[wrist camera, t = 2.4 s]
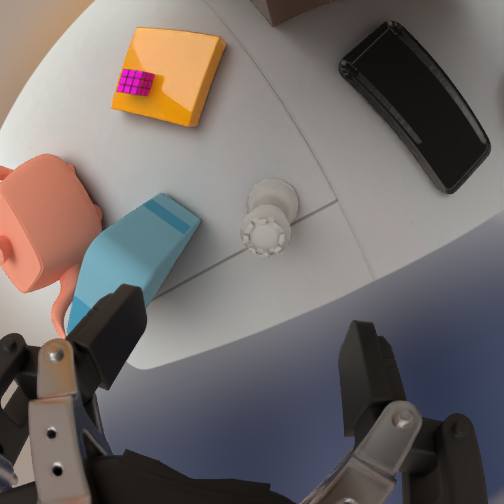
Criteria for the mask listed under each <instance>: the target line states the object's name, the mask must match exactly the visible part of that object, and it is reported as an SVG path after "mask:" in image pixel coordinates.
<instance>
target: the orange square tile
mask: <svg viewBox="0 0 504 504" xmlns="http://www.w3.org/2000/svg"><path fill="white" fill-rule="evenodd" d="M225 47H226V43H225V42H224V40H223V39H222V38H221V37H219V36H214V35H208V34H202V33H196V32H188V31H180V30H171V29H160V28H145V27H137V28H136V31H135V33H134V36H133V39H132V41H131V44H130V47H129V49H128V52H127V55H126V58H125V61H124V64H123V67H122V70H121V74H120V77H119V80H118V84H117V87H116V91H115V94H114V98H113V102H112V106H111V109H115V110H120V111H125V112H130V113H135V114H139V115H143V116H148V117H152V118H156V119H160V120H164V121H168V122H172V123H176V124H179V125H183V126H187V127H191V126H197V125H198V122H199V119H200V116H201V113H202V110H203V107H204V104H205V101H206V98H207V95H208V92H209V89H210V86H211V83H212V81H213V78H214V75H215V72H216V70H217V67H218V64H219V62H220V59H221V57H222V54H223V52H224V49H225Z"/></svg>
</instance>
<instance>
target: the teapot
mask: <svg viewBox="0 0 504 504" xmlns="http://www.w3.org/2000/svg"><path fill="white" fill-rule="evenodd" d="M0 180H3V181H2V182H1V183H0V266H1V267H2V269H3V270H4V272H5V273H6V275H7V276H8V278H9V279H10V280H11V282H12V283H13V284H14V286H15V287H16V288H17V289H18V290H19V291H20V292H22V293H28V292H32V291H35V290H38V289H41V288H44V287H46V286H49V285H51V284H53V283H54V282H56V281H58V280H59V279H60V284H61V291H60V294H59V296H58V298H57V299H56V301H55V302H54V304H53V307H52V310H51V320H52V323H53V325H54V328H55V329H56V331H57V333H58V334H59V336H60V337H61V338H62V339H65V338H66V335H65V330H64V316H65V313H66V311H67V309H68V307H69V305H70V304H71V302H72V301H73V298H74V293H75V289H76V285H77V281H78V277H79V273H80V269H81V266H82V262H83V259H84V256H85V253H86V251H87V249H88V248H89V246H90V245H91V243H92V242H93V240H94V239H95V238H96V237H97V236H98V235H99V234H100V233H101V232H102V225H101V222H102V219H103V215H102V211H101V209H100V208H99V207H98V206H97V205H95V204H93V203H92V201H91V199H90V197H89V195H88V194H87V192H86V190H85V188H84V187H83V185H82V183H81V182H80V180H79V179H78V178H77V176H76V171H75V168H74V166H73V165H72V164H66V163H65V162H64V161H63V160H62V159H60V158H59V157H57V156H54V155H51V154H42V155H39V156H36V157H34V158H32V159H30V160H28V161H26V162H25V163H23V164H22V165H20V166H19V167H17V168H16V169H15V170H11V169H9V168H6V167H3V166H0Z"/></svg>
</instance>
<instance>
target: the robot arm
mask: <svg viewBox="0 0 504 504" xmlns="http://www.w3.org/2000/svg"><path fill="white" fill-rule="evenodd" d="M146 325H147V314H146V308H145V302H144V296H143V291H142V288H141V287H139V286H134V285H129V284H125V283H123V284H121V285H120V286H119V287H118V288H117V289H116V290H115V292H114V293H109V294H108V295H106V296H104V297H102V298H101V299H99V300H98V301H97V302H96V304H95V305H94V306H93V307H92V309H90V310H89V311H88V312H87V315H85V316H84V317H83V318H82V319H81V320H80V322H79V323H78V324H77V325H76V326H75V327H74V329H73V330H72V331H71V332H70V333H69V334H68V336H67V337H66V338H65V339H60V338H59V339H53V340H50V341H48V342H46V343H45V344H44V345H43V346H42V347H36V346H28V345H27V344H26V342H25V340H24V338H23V337H22V335H20V334H18V333H11V334H8V335H6V336H4V337H3V338H2V339H1V340H0V504H296V503H295V502H293V501H292V500H290V499H288V498H287V497H285V496H283V495H281V494H278V493H276V492H273V491H270V484H267V483H258V482H251V481H243V480H236V479H192V478H189V477H187V476H185V475H183V474H181V473H179V472H177V471H176V470H174V469H172V468H170V467H168V466H167V465H165V464H163V463H161V462H160V461H158V460H155V459H152V458H149V457H146V456H143V455H140V454H138V453H135V452H133V451H130V450H127V449H126V450H125V452H124V454H123V455H113V452H112V450H111V448H110V445H109V443H108V442H107V439H106V437H105V434H104V430H103V426H102V421H101V417H100V412H99V407H98V403H97V397H96V394H95V391H96V389H97V388H98V387H100V388H103V389H105V390H109V389H110V387H111V385H112V384H113V382H114V380H115V379H116V377H117V375H118V374H119V372H120V370H121V368H122V367H123V365H124V364H125V362H126V360H127V359H128V357H129V355H130V354H131V352H132V351H133V349H134V347H135V346H136V344H137V343H138V341H139V339H140V338H141V336H142V335H143V333H144V331H145V329H146ZM338 363H339V364H338V365H339V374H340V385H341V396H342V406H343V407H342V408H343V421H344V436H345V437H353V436H354V437H355V444H354V446H353V447H352V448H351V449H350V451H349V452H348V453H347V454H346V456H345V457H344V458H343V459H342V460H341V462H340V463H339V464H338V465H337V466H336V468H335V469H334V470H333V471H332V472H331V473H330V474H329V475H328V476H327V478H326V479H325V480H324V481H323V482H322V483H321V484H320V485H319V486H318V487H317V488H316V489H315V490H314V491H313V492H312V493H311V494H310V495H309V496H307V497H306V499H304V500H303V501H302V502H301V503H300V504H383V503H384V502H385V501H386V499H387V498H388V496H389V495H390V493H391V492H392V490H393V488H394V487H395V484H396V479H394V477H395V475H396V473H397V471H399V472H402V496H403V504H488V500H487V491H486V484H485V477H484V471H483V465H482V461H481V455H480V451H479V447H478V442H477V438H476V434H475V430H474V426H473V424H472V422H471V421H470V419H469V418H467V417H466V416H464V415H462V414H458V413H455V414H451V415H450V416H448V417H447V418H446V419H445V420H444V421H443V422H442V421H437V420H432V419H428V418H424V417H421V414H420V412H419V410H418V409H417V408H416V407H415V406H414V405H412V404H411V403H409V402H407V400H406V396H405V392H404V388H403V385H402V381H401V377H400V374H399V371H398V368H397V364H396V360H395V359H394V354H393V351H392V348H391V345H390V344H389V343H388V342H387V341H386V339H385V338H384V337H383V336H377V334H376V330H375V327H374V324H373V322H367V321H357V320H353V321H352V322H351V324H350V326H349V329H348V332H347V334H346V337H345V339H344V342H343V344H342V347H341V350H340V353H339V360H338ZM13 380H14V381H15V382H16V383H17V385H18V388H17V389H16V391H15V392H14V394H13V395H12V397H11V398H10V400H9V402H8V403H7V405H6V406H5V408H4V409H2V407H1V398H2V396H3V395H4V393H5V392H6V390H7V389H8V387H9V386H10V384H11V383H12V381H13ZM29 434H30V445H31V456H32V464H33V470H34V477H35V481H33V482H31V483H27V484H24V485H21V486H18V487H15V488H12V485H16V484H17V482H18V477H17V475H16V474H15V473H14V470H13V466H14V464H15V462H16V460H17V458H18V456H19V454H20V452H21V450H22V448H23V446H24V444H25V442H26V440H27V438H28V436H29Z"/></svg>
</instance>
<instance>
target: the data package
mask: <svg viewBox="0 0 504 504" xmlns="http://www.w3.org/2000/svg"><path fill="white" fill-rule="evenodd" d="M200 222H201V220H200V218H198V217H197V216H195V215H194V214H192V213H191V212H190V211H188V210H187V209H185V208H184V207H183V206H181V205H180V204H178V203H177V202H175V201H174V200H173V199H171V198H170V197H168V196H167V195H165V194H164V193H161V194H159V195H157V196H155V197H154V198H152V199H150V200H149V201H147V202H146V203H144V204H143V205H141V206H139V207H138V208H136V209H135V210H133V211H132V212H130V213H129V214H127V215H126V216H124V217H123V218H121V219H120V220H118V221H117V222H115V223H114V224H112V225H111V226H110V227H108V228H107V229H105V230H104V231H102V232H101V233H100V234H99V235H98V236H97V237H96V238H95V239H94V240H93V242H92V243H91V245H90V246H89V248H88V249H87V251H86V253H85V256H84V259H83V262H82V266H81V269H80V273H79V277H78V281H77V285H76V289H75V293H74V298H73V302H72V307H71V312H70V317H69V323H68V328H67V333H68V334H69V333H70V332H71V331H72V330H73V329H74V327H75V326H76V325H77V324H78V323H79V322H80V320H81V319H82V318H83V317H84V316H85V315H87V312H88V311H89V310H90V309H92V307H93V306H94V305H95V304H96V302H97V301H98V300H99V299H101V298H102V297H104V296H106V295H108V294H109V293H114V292H115V290H116V289H117V288H118V287H119V286H120V285H121V284H123V283H125V284H129V285H134V286H139V287H141V288H142V291H143V296H144V302H145V308H147V306H148V305H149V303H150V302H151V300H152V299H153V298H154V296H155V294H156V293H157V291H158V290H159V288H160V287H161V285H162V283H163V282H164V280H165V278H166V277H167V275H168V273H169V272H170V270H171V268H172V267H173V265H174V264H175V262H176V260H177V259H178V257H179V256H180V254H181V252H182V251H183V249H184V248H185V246H186V244H187V243H188V241H189V240H190V238H191V237H192V235H193V234H194V232H195V231H196V229H197V227H198V226H199V224H200Z"/></svg>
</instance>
